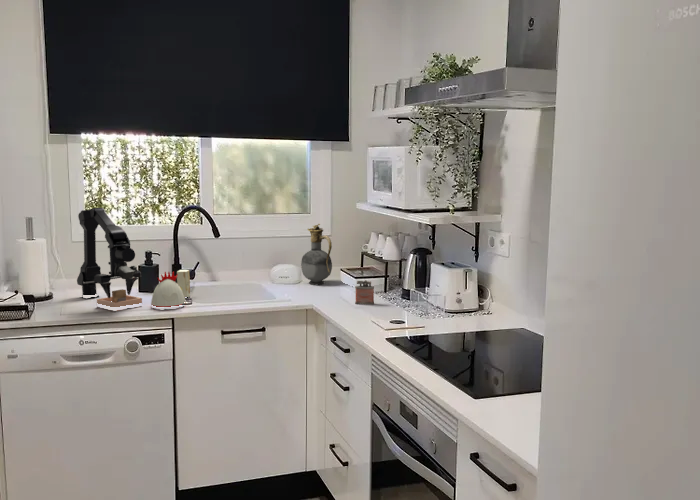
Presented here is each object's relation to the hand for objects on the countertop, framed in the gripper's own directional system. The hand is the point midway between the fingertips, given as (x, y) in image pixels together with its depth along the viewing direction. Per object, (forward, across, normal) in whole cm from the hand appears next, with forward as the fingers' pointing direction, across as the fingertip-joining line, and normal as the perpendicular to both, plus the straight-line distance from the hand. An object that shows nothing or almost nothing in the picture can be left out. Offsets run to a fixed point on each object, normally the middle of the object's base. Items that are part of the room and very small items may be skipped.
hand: (119, 296), depth 280 cm
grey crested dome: (+5, +13, -16) cm, 21 cm away
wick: (+4, 0, 0) cm, 4 cm away
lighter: (+5, +67, -78) cm, 103 cm away
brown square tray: (+4, 0, 0) cm, 4 cm away
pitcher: (+5, +90, -32) cm, 96 cm away
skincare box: (+5, +29, -6) cm, 30 cm away
